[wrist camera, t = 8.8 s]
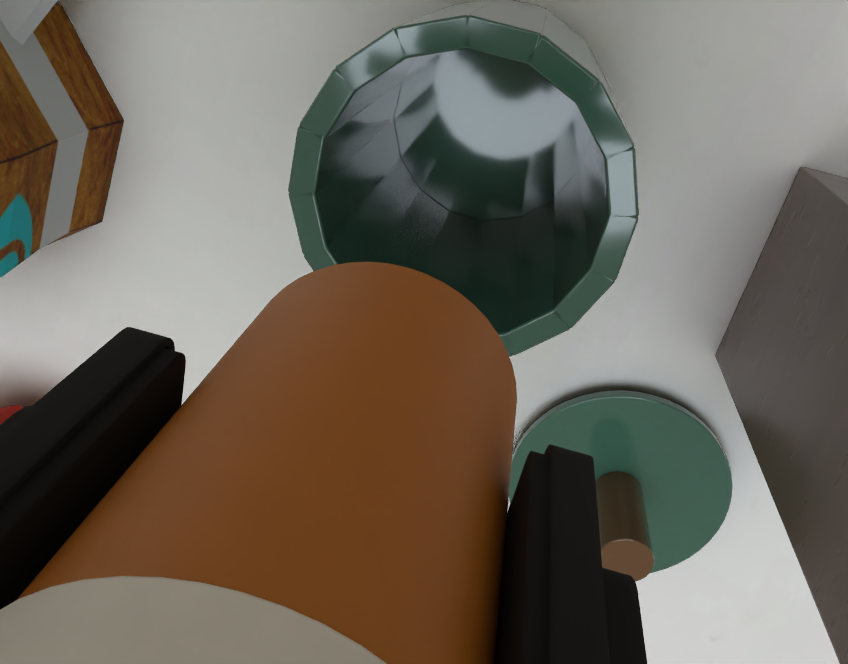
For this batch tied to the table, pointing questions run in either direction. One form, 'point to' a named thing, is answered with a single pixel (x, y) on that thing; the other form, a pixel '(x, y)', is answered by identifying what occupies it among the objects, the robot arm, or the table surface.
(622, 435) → the lid
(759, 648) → the table surface
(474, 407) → the vial
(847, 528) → the stand
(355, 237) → the tin
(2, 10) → the mug
